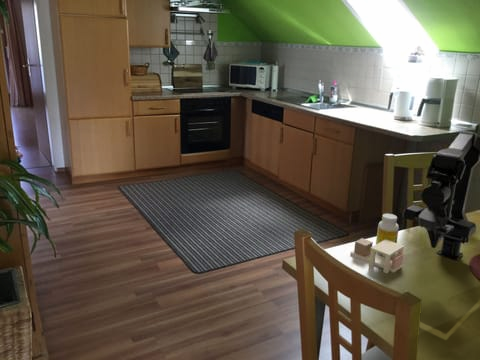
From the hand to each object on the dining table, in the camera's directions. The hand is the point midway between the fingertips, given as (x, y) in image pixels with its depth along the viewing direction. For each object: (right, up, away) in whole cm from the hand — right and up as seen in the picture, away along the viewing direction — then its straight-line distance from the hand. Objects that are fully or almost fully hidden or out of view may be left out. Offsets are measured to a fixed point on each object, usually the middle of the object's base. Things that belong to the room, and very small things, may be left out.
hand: (433, 247), depth 128 cm
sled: (-13, -6, +14) cm, 20 cm away
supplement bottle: (-6, -5, +23) cm, 25 cm away
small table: (-8, -9, +9) cm, 15 cm away
